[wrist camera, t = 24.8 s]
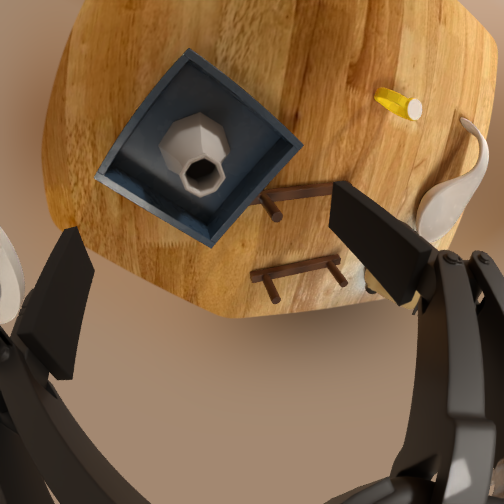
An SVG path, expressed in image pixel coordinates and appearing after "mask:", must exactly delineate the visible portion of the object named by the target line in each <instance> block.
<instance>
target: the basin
mask: <svg viewBox="0 0 504 504" xmlns="http://www.w3.org/2000/svg"><path fill="white" fill-rule="evenodd" d="M199 112H201V113H202V114H204V115H206V116H207V117H209V118H210V119H212V120H214V121H215V122H217V123H218V124H220V125H221V126H223V129H224V132H225V135H226V138H227V141H228V144H229V147H230V150H231V151H230V152H229V154H228V155H227V156H226V158H225V159H224V161H223V162H222V163H221V166H222V169H223V172H224V174H225V177H226V178H225V179H224V181H223V182H222V184H221V185H220V186H219V188H218V189H217V191H216V192H213V193H211V194H208V195H206V196H203V197H198V196H196V195H194V194H192V193H190V192H189V191H187V190H185V188H184V185H183V183H182V180H181V178H180V176H179V175H178V174H176V173H174V172H172V171H171V170H169V169H168V168H167V165H166V163H165V161H164V158H163V156H162V153H161V151H160V148H159V146H158V145H159V143H160V142H161V140H162V139H163V137H164V136H165V134H166V132H167V131H168V129H169V128H170V126H171V125H172V123H173V122H175V121H177V120H180V119H183V118H185V117H188V116H191V115H193V114H196V113H199ZM303 146H304V145H303V144H302V143H301V142H300V141H299V140H298V139H297V138H296V137H295V136H294V135H293V134H292V133H291V132H290V131H289V130H288V129H287V128H286V127H285V126H284V125H283V124H282V123H281V122H280V121H278V120H277V119H276V118H275V117H274V116H273V115H272V114H271V113H270V112H269V111H268V110H266V109H265V108H264V107H263V106H262V105H261V104H260V103H259V102H257V101H256V100H255V99H254V98H253V97H252V96H250V95H249V94H248V93H247V92H246V91H245V90H243V89H242V88H241V87H240V86H239V85H237V84H236V83H235V82H234V81H232V80H231V79H230V78H229V77H227V76H226V75H225V74H224V73H222V72H221V71H220V70H218V69H217V68H216V67H215V66H213V65H212V64H211V63H209V62H208V61H207V60H205V59H204V58H202V57H201V56H200V55H198V54H197V53H196V52H194V51H193V50H191V49H190V48H188V49H187V50H186V51H185V52H184V54H183V55H182V56H181V57H180V58H179V59H178V60H177V61H176V62H175V63H174V64H173V66H172V67H171V68H170V69H169V70H168V71H167V72H166V74H165V75H164V76H163V77H162V78H161V80H160V81H159V82H158V83H157V84H156V86H155V87H154V88H153V89H152V91H151V92H150V93H149V94H148V96H147V97H146V98H145V100H144V101H143V102H142V104H141V105H140V106H139V108H138V109H137V110H136V112H135V113H134V115H133V116H132V117H131V119H130V120H129V122H128V123H127V125H126V126H125V127H124V129H123V130H122V132H121V133H120V135H119V136H118V138H117V140H116V141H115V143H114V144H113V146H112V147H111V149H110V151H109V152H108V154H107V156H106V157H105V159H104V161H103V162H102V164H101V166H100V167H99V169H98V171H97V173H96V175H95V176H94V179H96V180H98V181H99V182H101V183H102V184H104V185H106V186H107V187H109V188H111V189H112V190H114V191H115V192H117V193H119V194H120V195H122V196H124V197H125V198H127V199H129V200H130V201H132V202H134V203H135V204H137V205H139V206H140V207H142V208H144V209H145V210H147V211H149V212H150V213H152V214H154V215H155V216H157V217H159V218H160V219H162V220H164V221H165V222H167V223H169V224H170V225H172V226H174V227H176V228H177V229H179V230H181V231H182V232H184V233H186V234H187V235H189V236H191V237H192V238H194V239H196V240H198V241H199V242H201V243H203V244H204V245H206V246H208V247H210V248H212V247H213V246H214V245H215V244H216V242H217V241H218V240H219V239H220V238H221V237H222V236H223V234H224V233H225V232H226V231H227V230H228V229H229V227H230V226H231V225H232V224H233V223H234V222H235V221H236V219H237V218H238V217H239V216H240V215H241V214H242V213H243V212H244V210H245V209H246V208H247V207H248V206H249V205H250V204H251V203H252V201H253V200H254V199H255V198H256V197H257V196H258V195H259V194H260V192H261V191H262V190H263V189H264V188H265V187H266V186H267V185H268V184H269V182H270V181H271V180H272V179H273V178H274V177H275V176H276V175H277V174H278V173H279V172H280V170H281V169H282V168H283V167H284V166H285V165H286V164H287V163H288V162H289V161H290V160H291V158H292V157H293V156H294V155H295V154H296V153H297V152H298V150H300V149H301V148H302V147H303Z"/></svg>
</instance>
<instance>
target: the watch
mask: <svg viewBox="0 0 504 504" xmlns="http://www.w3.org/2000/svg"><path fill="white" fill-rule="evenodd" d="M374 99H375V101H377V102H379V103H380V104H381V105H382V106H384V107H385V108H386V109H387V110H389V111H391V112H392V113H394V114H396V115H398V116H400V117H402V118H405V119H407V120H410V121H416V120H418V119H419V118H420V116H421V114H422V105H421V103H420V101H419V100H417V99H415V98H409V99H408V98H406V97H405V96H403V95H401V94H399V93H397V92H395V91H393V90H390V89H386V88H378V89H377V91H376V93H375V95H374ZM397 104H398V105H397Z"/></svg>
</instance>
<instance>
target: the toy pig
mask: <svg viewBox="0 0 504 504" xmlns="http://www.w3.org/2000/svg"><path fill="white" fill-rule="evenodd" d="M364 278H365V282H366V284H365V289H366V291H367V292H368V293H370V294H375V293H379V294H380V295H382V296H383V297H385V298H387V299H388V300H390V301H392V302H394V303H396V302H395V301H394V300H393V298H392V297H391V296H390V295H389V294H388V293H387V291H386V290H385V289H384V288H383V287H382V285H381V284H380V283H379V282H378V281H377V280H376V278H375V277H374V276H373V275H372V274H371V273H370V272H369V270H368V269H366V272H365V277H364ZM419 298H420V294H419V293H418V292H417V291H416V292H415V294H414V297H413V299H412V301H411V302H409V303H406V304H404V305H401V306H402V307H404V308H407V309H414V308H415V306H416V304H417V302H418V300H419ZM396 304H397V303H396Z"/></svg>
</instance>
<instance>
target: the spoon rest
mask: <svg viewBox="0 0 504 504" xmlns="http://www.w3.org/2000/svg"><path fill="white" fill-rule="evenodd" d="M460 121H461V124H462V125H463V127H464V128H465V129H466V130H467V131H468V132H470V133H471V134H473V135H474V136H475V137H477V139H478V142H479V157H478V160H477V163H476V165H475V166H474V167H473V168H472V169H471V170H470V171H469V172H467V173H466V174H464V175H462V176H459V177H457V178H454V179H451V180H448V181H445V182H442V183H439V184H437V185H435V186H434V187H432V188H431V189H430V190H429V191H427V192H426V194H425V195H424V196H423V198H422V200H421V202H420V205H419V207H418V211H417V216H416V227H417V233H418V234H419V236H422V237H423V238H424V239H425V240H426V241H428V242H429V243H431V242H435V241H437V240H439V239H440V238H442V237H443V236H444V235H445V234H446V233H447V232H448V231H449V230H450V229H451V228H452V227H453V226H454V224H455V223H456V221H457V220H458V218H459V217H460V215H461V213H462V212H463V210H464V209H465V207H466V205H467V204H468V202H469V200H470V199H471V197H472V196H473V194H474V192H475V191H476V189H477V188H478V186H479V184H480V182H481V181H482V178H483V176H484V174H485V172H486V169H487V166H488V160H489V150H488V146H487V142H486V140H485V139H484V137H483V136H482V135H481V133H480V131H479V130H478V129H477V127H476V126H475V125H474V124H473V123H471V122H470V121H469V120H467V119H465V118H463V117H461V118H460Z"/></svg>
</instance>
